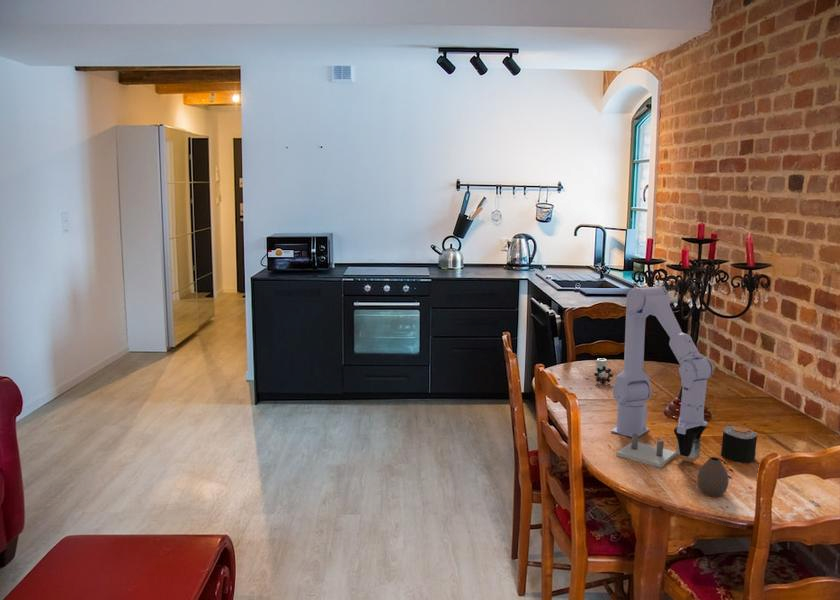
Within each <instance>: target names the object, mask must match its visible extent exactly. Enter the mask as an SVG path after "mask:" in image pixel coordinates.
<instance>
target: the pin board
mask: <svg viewBox="0 0 840 600" xmlns="http://www.w3.org/2000/svg"><path fill="white" fill-rule="evenodd" d="M664 443H665V441H664V440H661V439H659V440H657V443H656V446H655V445H652V444H647V443H643V442H640V441H639V437H638V434H632V437H631V442H630V443H628V444H627V445H625V446H624V447H622V448H621V449H620V450H617V452H616V456H617V457H620V458H624V459H627V460H631V461H636V462H638V463H642V464H645V465H649V466H653V467H657V468H662V467H663V466H664V465H666V464H667V463H669V462H670V461H671V460H672V459H674V458H675V457H676V451H674V450H670V449H666V448H664Z"/></svg>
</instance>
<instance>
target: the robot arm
mask: <svg viewBox="0 0 840 600" xmlns="http://www.w3.org/2000/svg"><path fill="white" fill-rule="evenodd" d="M671 300H672V298H671V297H670V295H669V292H668V291H667V289H666V288H665V287H664V286H661V285H659V286H650V287H649V286H647V287H633V288H631V290H630V291H628V292H627V293H626V305H625V307H626V308H625V309H626V310H625V327H624V329H625V332H624V354H623V355H624V358H623V360H624V361H623V370H622V371H621V372H620V373H619V374H617V375H616V376H615V380H614V381H615V382H614V385H613V388H612V395H613V398H614V400H615V401H616V403H617V417H616V426H615V427H614V428H612V429H610V432H611V433H614V434H619V435H622V436H626V437H630V438H632V434H638V438H639V437H641V436H642V435H643V434H645V433H646V432H648V431H650V428H649V427H647V419H648V418H647V417H648V406H647V400H649V399H650V398H651V395H652V387H651V384H650V376H649V375H648V374H647V373H645V372H644V362H645V361H644V360H645V359H644V358H645V340H646V339H645V338H646V337H645V336H646V335H645V334H646V318H647V317H649V316H650V315H651V316H652V317H653V316H654V317H656V319H657V320H658V322H659V324H660V325H661V326H662V328H663V329H664V331H665V332H666V334H667V335H668V337H669V342H668V345H669V347H670V349H671V351H672V353H673V355H674V356H675V358H676V360H677V362H678V363H679V365H680V366H679V367H678V373H679V376H680V379H681V382H680V384H681V387H682V390H681V401H680V410H679V417H678V425H677V426H676V427H674V428H673V433H674V435H675V436H676V440H678V444H679V450H680V455H683V456H687V457H688V456H689V454H690V452H691V447H692V444H693V441H694V439H695V438H697V439H701V436H702V435H703V433H704V431H705V430H706V428H707V426H708V421H706V420H705V419H704V418H705V413H704V412H705V411H704V410H705V403H706V394H707V383H708V380H709V379H710V378H712V376H713V373H714V367H713V363H712V361H711V360H710V359H709V358H708V357H705V356H704V354H702V353H700V351H699V349H698V347H697V346H696V344H695V342H694V341H693V338H692V336H690V335H689V334H688V333H684V332H683V331H682V328H681V326H680V324H679V322H678V320H677V318H676V316H675V314H674V312H673V309H672V308H671V306H670V305H671V302H672V301H671Z"/></svg>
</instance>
